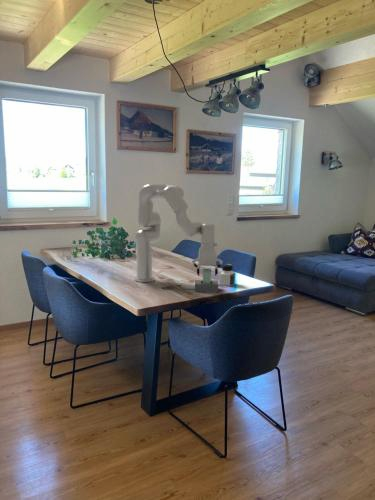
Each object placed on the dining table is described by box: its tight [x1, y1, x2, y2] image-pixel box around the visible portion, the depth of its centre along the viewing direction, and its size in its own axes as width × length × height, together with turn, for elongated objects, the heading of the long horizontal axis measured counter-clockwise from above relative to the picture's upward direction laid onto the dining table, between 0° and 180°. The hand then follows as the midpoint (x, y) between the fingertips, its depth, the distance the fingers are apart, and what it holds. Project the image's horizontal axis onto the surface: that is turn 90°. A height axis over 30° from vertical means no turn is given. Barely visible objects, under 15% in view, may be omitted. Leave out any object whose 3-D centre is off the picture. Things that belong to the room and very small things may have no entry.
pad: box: [182, 284, 195, 290], centre depth 230 cm, size 7×7×1 cm
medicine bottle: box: [218, 263, 236, 287], centre depth 238 cm, size 7×7×12 cm
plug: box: [202, 268, 212, 284], centre depth 225 cm, size 5×5×12 cm
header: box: [194, 279, 219, 293], centre depth 226 cm, size 9×13×4 cm
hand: (207, 275), depth 224 cm, fingers open, 9 cm apart
